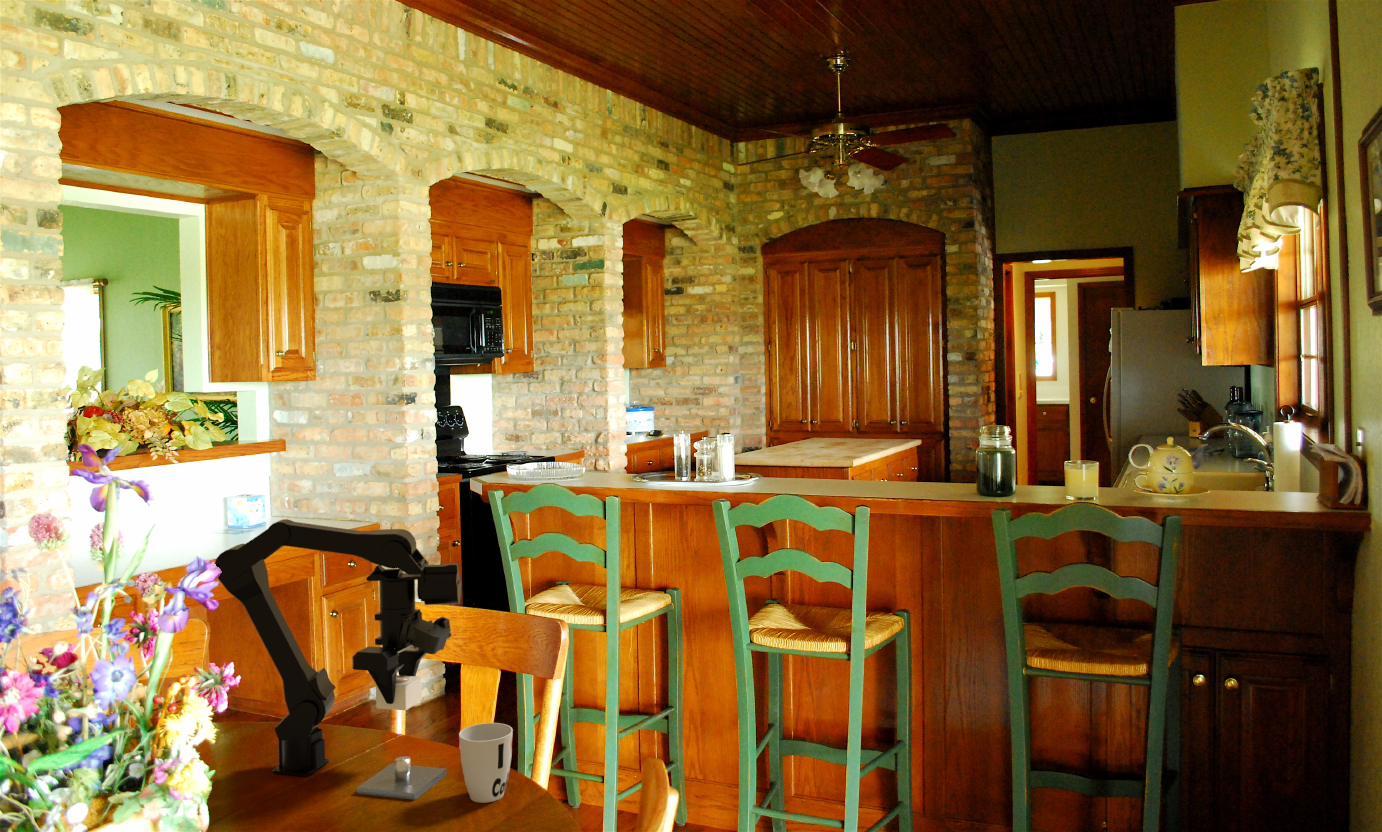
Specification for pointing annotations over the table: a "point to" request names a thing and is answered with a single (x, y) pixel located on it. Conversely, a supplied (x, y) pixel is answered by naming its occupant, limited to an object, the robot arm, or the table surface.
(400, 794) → the post fixture
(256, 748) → the table surface
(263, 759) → the table surface
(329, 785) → the table surface
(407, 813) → the table surface
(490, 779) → the cup
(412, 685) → the cap
